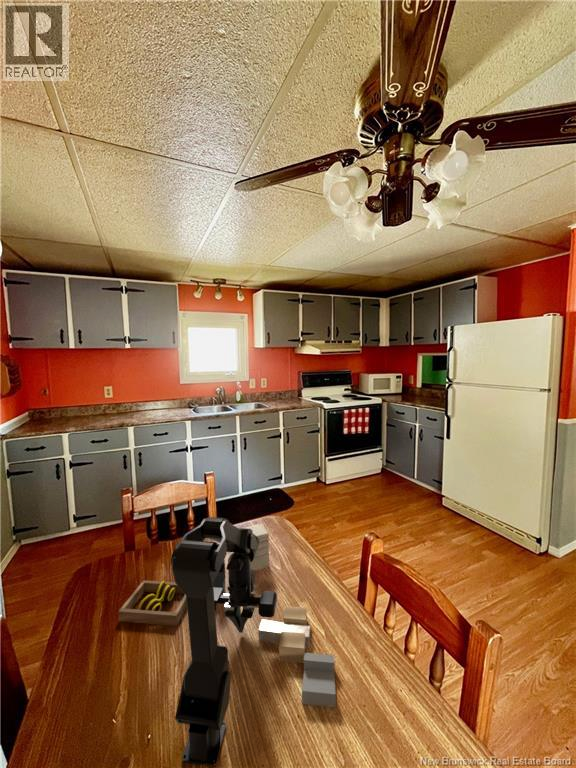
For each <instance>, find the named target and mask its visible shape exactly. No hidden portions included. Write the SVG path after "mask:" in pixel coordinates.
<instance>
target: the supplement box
mask: <svg viewBox="0 0 576 768" xmlns="http://www.w3.org/2000/svg"><path fill="white" fill-rule="evenodd" d="M244 528H247V529H251V530H253V534H254V535H256V536H257V538H258V540H259V547H258V549H257V552H256V554H255V557H254V559H253V561H252V562H250V569H252V570H255V572H256V571H259V570H260V571H261V570H263V569H266V568H269V567H270V540H269V539H270V536H269V535H270V534H269V532H268V530H267V529H266V527H265V526H264V525H263V524H262V523H257V524H254V525H248V526H246V527H244Z"/></svg>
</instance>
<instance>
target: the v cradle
mask: <svg viewBox="0 0 576 768" xmlns="http://www.w3.org/2000/svg"><path fill="white" fill-rule="evenodd" d="M335 678H336V677H335V655H333V654H323V653H321V654H320V653H312V652H305V653H304V663H303V675H302V684H301V686H302V687H301V704H302V705H309V706H310V705H311V706H318V707H327V708H328V707H329V708H336V704H337V703H336V699H337V698H336V682H335V681H336V680H335Z"/></svg>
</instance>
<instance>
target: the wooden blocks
mask: <svg viewBox="0 0 576 768" xmlns="http://www.w3.org/2000/svg"><path fill="white" fill-rule="evenodd" d="M283 611H284V612H283V617H282V619H283V621H282V622H283V623H291V624H298V625H306V626H308V625H307V624H308V623H307V622H308V621H307V620H308V618H307V617H308V616H307V615H308V614H307V613H308V609H307V607H306V606H305V607H302V606H290V605H285V606H284V610H283ZM278 650H279V654H278V656H279V661H280V662H287V663H288V662H290V663H301V664H304V653H306V647H305V633H295V632H283V631H281V638H280V643H279V646H278Z"/></svg>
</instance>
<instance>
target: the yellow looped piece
mask: <svg viewBox="0 0 576 768" xmlns="http://www.w3.org/2000/svg"><path fill="white" fill-rule="evenodd" d="M161 581H162V582H161V584H160V586H159V588H158V590H157V593H156V594H154V593H150V594H147V595H146V596H145V597H144V598H143V599H142V600H141V602H140V603H139V606H138V610H149V611H161V610H162V602H163V601H168V602H171V601H172V599H174V596H175V594H174V593H175V588H172V587H171V586H170V585H167V584H165V582H166V581H165V580H161Z"/></svg>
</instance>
